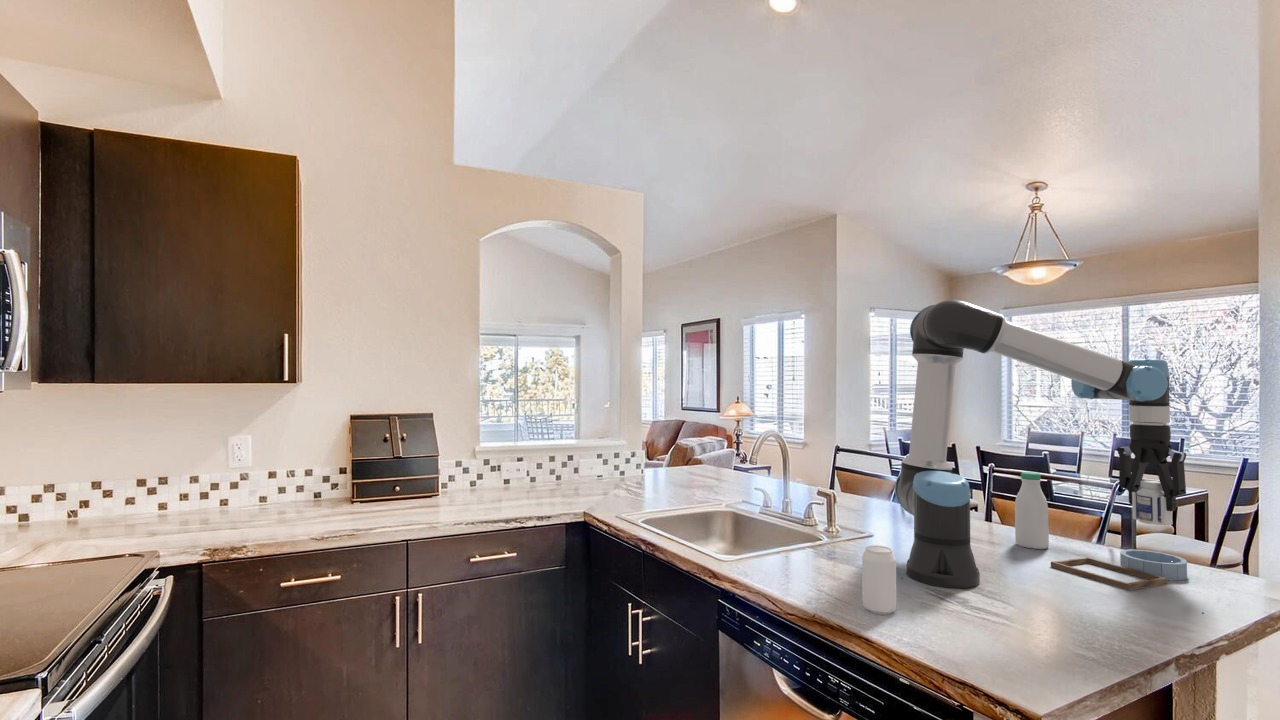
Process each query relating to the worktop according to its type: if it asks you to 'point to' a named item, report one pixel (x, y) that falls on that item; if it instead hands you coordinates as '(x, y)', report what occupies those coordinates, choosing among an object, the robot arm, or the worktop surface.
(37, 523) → the worktop surface
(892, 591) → the beverage can
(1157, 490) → the pill bottle
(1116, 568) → the empty rectangular wooden frame
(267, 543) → the worktop surface
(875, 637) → the worktop surface
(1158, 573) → the bowl
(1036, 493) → the milk bottle
